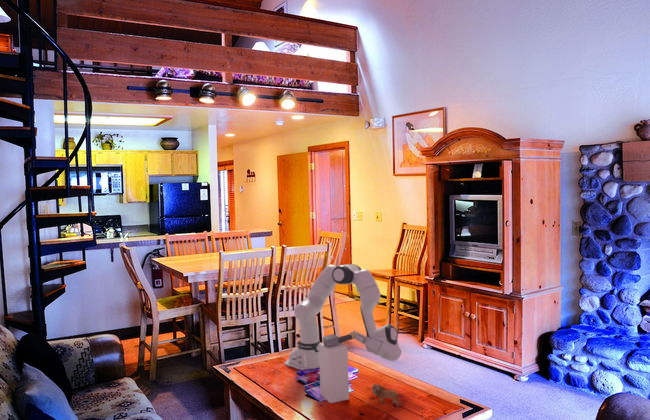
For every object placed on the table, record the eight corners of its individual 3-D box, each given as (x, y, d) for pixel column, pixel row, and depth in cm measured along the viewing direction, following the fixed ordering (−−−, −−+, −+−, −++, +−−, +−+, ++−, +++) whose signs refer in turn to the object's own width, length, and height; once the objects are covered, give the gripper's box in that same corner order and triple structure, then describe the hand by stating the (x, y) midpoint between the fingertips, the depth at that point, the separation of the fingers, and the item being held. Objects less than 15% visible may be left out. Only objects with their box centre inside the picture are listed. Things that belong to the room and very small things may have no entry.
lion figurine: (371, 404, 237) (370, 386, 237) (373, 399, 242) (372, 381, 242) (402, 407, 233) (402, 388, 233) (403, 402, 238) (403, 384, 238)
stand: (338, 390, 255) (337, 340, 253) (348, 399, 244) (347, 346, 242) (320, 394, 251) (318, 343, 249) (330, 403, 240) (328, 350, 238)
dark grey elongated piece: (355, 335, 254) (354, 327, 253) (360, 337, 249) (359, 330, 249) (323, 344, 247) (322, 337, 246) (327, 347, 242) (326, 339, 242)
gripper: (367, 333, 265) (346, 323, 260) (386, 344, 247) (365, 334, 242) (361, 344, 264) (341, 334, 259) (381, 356, 246) (359, 346, 241)
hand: (352, 334), depth 250 cm, fingers open, 3 cm apart
